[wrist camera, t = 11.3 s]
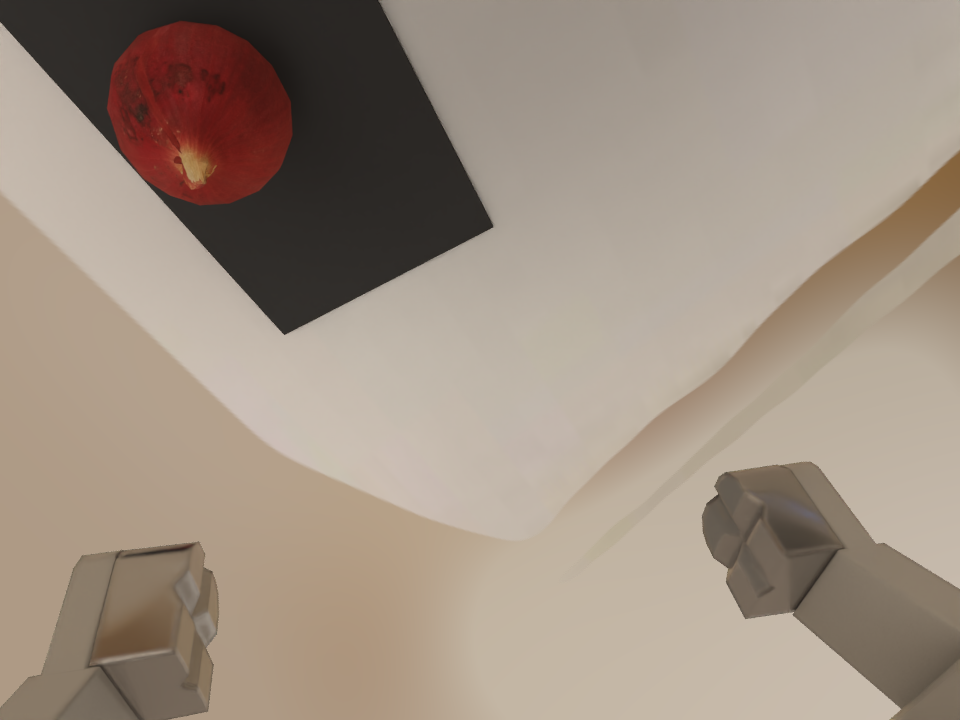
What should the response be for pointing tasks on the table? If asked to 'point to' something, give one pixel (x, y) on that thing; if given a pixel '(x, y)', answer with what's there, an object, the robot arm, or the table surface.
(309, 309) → the placemat
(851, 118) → the table surface
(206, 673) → the robot arm
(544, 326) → the table surface
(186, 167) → the red round fruit
